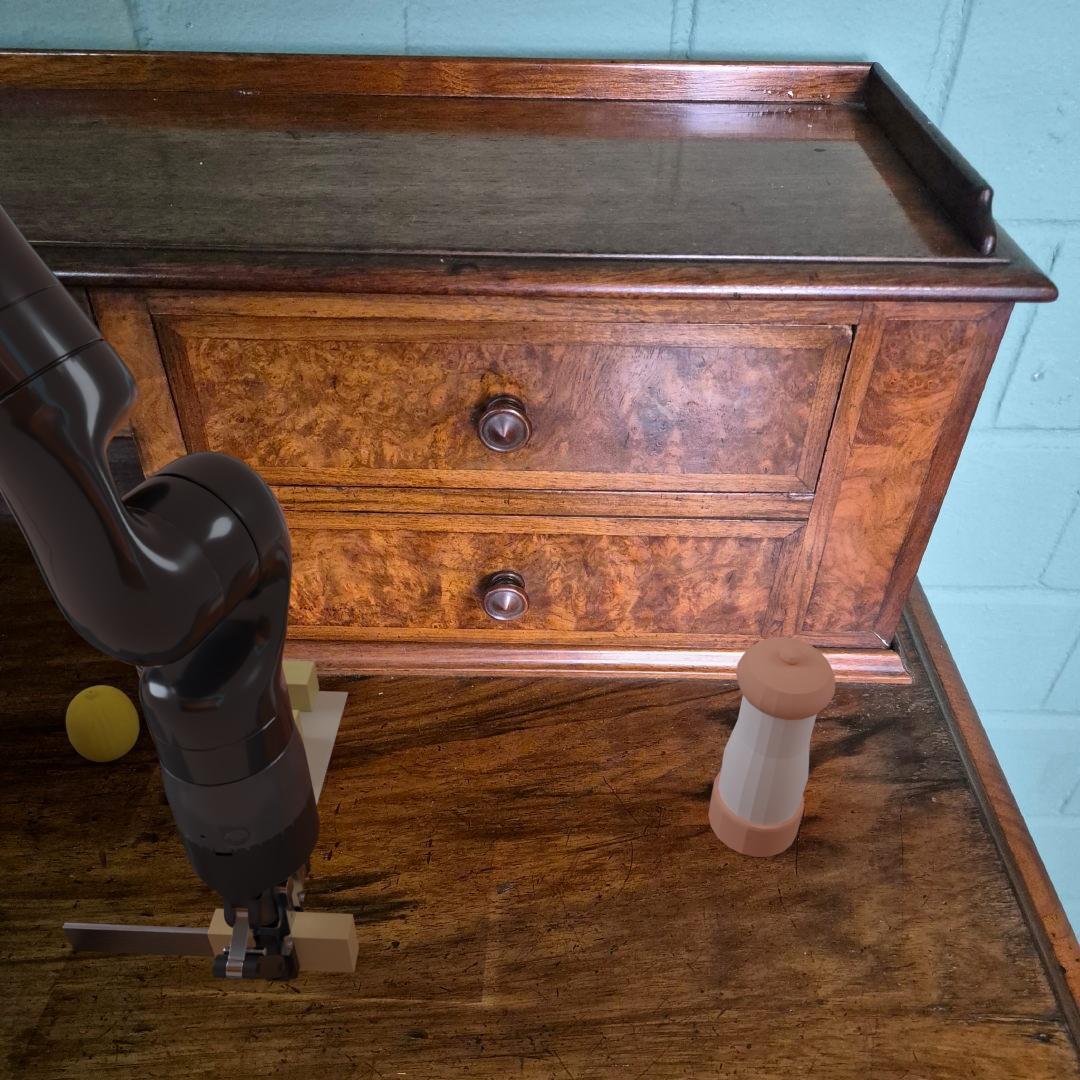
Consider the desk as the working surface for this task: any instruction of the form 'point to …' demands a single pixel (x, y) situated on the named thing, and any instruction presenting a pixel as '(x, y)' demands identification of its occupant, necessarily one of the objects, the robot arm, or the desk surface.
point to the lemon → (102, 723)
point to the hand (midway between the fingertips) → (287, 956)
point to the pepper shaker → (770, 746)
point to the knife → (226, 939)
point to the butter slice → (301, 683)
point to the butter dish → (321, 733)
